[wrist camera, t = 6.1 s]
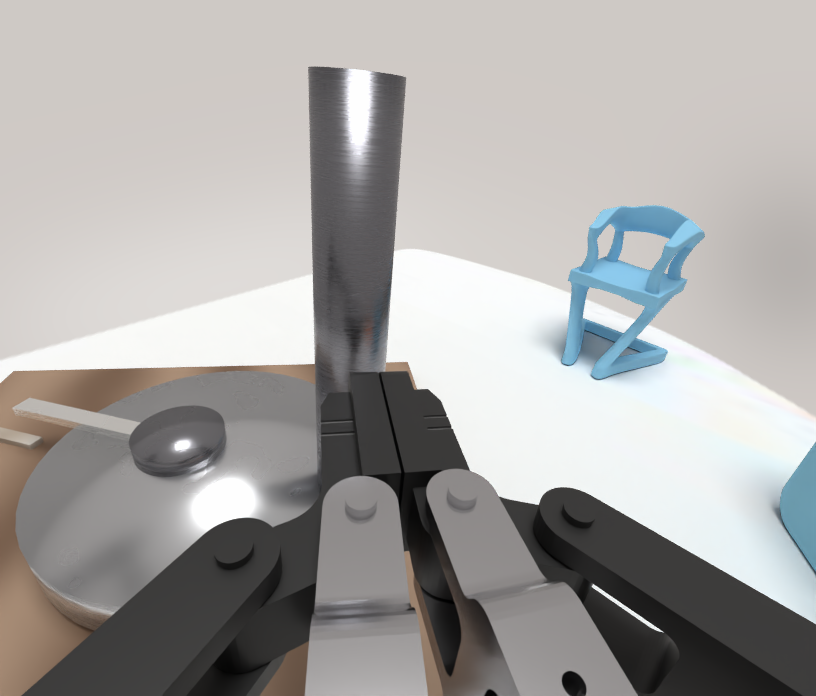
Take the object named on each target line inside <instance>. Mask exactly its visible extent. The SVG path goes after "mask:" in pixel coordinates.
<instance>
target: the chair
mask: <svg viewBox="0 0 816 696" xmlns="http://www.w3.org/2000/svg"><path fill="white" fill-rule="evenodd" d="M609 224H611V225H612V226H613V227H614V228H615V235H614V239H613V244H612V246H611V249H610V252H609V253H608V256H607V257H604V258H601V259H598V244H597V238H598V237H599V235H600V234H601V233H602V231H603V230H604V229H605V228H606V227H607V226H608V225H609ZM624 231H640V232H648V233H653V234H657V235H661V236H664V237H666V238H669V239H670V240H669V241H668V242H667V243H666V244H665V246H664V250H663V253H662V257H661V258H660V259H659V261H658V262H657V263H656V265H655V266H654V268H653V269H652V271H650V270H647V269H643V268H640V267H636V266H634V265H631V264H628V263H625V262H622V261H620V260H618V257H619V255H620V253H621V250H622V244H623V235H624ZM704 237H705V234H704V232H703V231H702V230H701V229H700V228H699V227H698V226H697V225H696V224H695V223H694V222H693V221H692V220H690V219H689V218H687V217H686V216H684V215H682V214H681V213H679V212H677V211H675V210H672V209H671V208H667V207H664V206H656V205H655V206H639V207H627V206H620V207H616V208H611V209H605V210H603V211H602V212H600V214H599V215H598V217H597V218H596V220H595V221H594V223H593V224H592V225H591V226H590V227H589V234H588V253H587V257H586V259H585V261H584V263H583V264H582V266H581V267H577V268H575V269H572V270H571V272H570V275H569V279H568V281H571V284H572V293H571V305H570V314H569V323H568V331H567V339H566V347H565V351H564V354H563V357H562V360H561V362H562V363H563V364H566V365H572V364H573V363H574V362H575V361H576V359H577V357H578V354H579V352H580V349H581V345H582V341H583V336H584V330H586V331H589V332H592V333H594V334H597V335H599V336H602V337H604V338H607V339H609V340H612V341H614V342H615V343H614V344H613V345H612V346H611V347H610V348H609V349H608V350H607V351H606V352H605V353H604V354H603V356H602V357H601V358H600V359H599V360H598V361H597V362H596V363H595V365H594V368H593V370H592V373H591V375H592V377H594V378H596V379H603V378H605V377H608V376H611V375H614V374H617V373H621V372H624V371H628V370H632V369H636V368H641V367H645V366H649V365H653V364H656V363H659V362H662V361H664V359H665V357H666V355H667V352H668V351H667V350H666V349H663V348H661V347H658V346H656V345H653V344H650V343H648V342H645V341H642V340H640V339H637V338H636V337H637V336H638V335H639V334H640V333H641V332H642V330H643V329H644V328H645V327H646V326H647V325H648V324H649V323H650V322H651V320H652V319H653V318H654V317H655V316H656V315H657V313H658V312H659V311H660V310H661V309H662V308H663V307H664V306H665V305H666V303H668V301H669V300H670V299H671V298H672V297H673V296H674V295H676V294H678V293H680V292H681V291H682V290H683V289H684V287H685V284H686V282H687V279H683V278H681V277H680V274H681V268H682V265H683V262H684V261H685V259H686V257H687V256H688V255H689V253H690V252H691V251H692V249H693V248H694V247H695V246H696V245H697V244H698V243H699V242H700V241H701V240H702V239H703V238H704ZM675 255H676V256H675ZM674 256H675V257H674ZM673 257H674V258H673ZM672 258H673V260H672ZM671 260H672V262H671V263H670V261H671ZM669 263H670V266H669V269H668V274H665V273H664V272H665V270H666V268H667V266H668V264H669ZM589 287H592V288H597V289H602V290H604V291H608V292H610V293H614V294H617V295H620V296H622V297H624V298H626V299H628V300H630V301H632V302H634V303H637V304H640V305H643V306H645V309H644V310H643V312H642V314H641V315H640V316H639V317H638V319H637V320H636V321H635V322H634V323H633V324H632V325H631V326H630V327H629V329H628V330H627V331H626V332H625V333H621V332H619V331H616V330H613V329H611V328H608V327H605V326H603V325H600V324H597V323H595V322H592V321H589V320H587V319H583V311H584V304H585V300H586V294H587V291H588V289H589ZM627 347H630V348H632V349H635V350H637V351H640V352H642V353H636V354H631V355H625V356H620V357H618V356H619V355H620V354H621V353H622V352H623V351H624V350H625V349H626V348H627Z"/></svg>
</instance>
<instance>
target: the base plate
mask: <svg viewBox="0 0 816 696" xmlns="http://www.w3.org/2000/svg"><path fill="white" fill-rule="evenodd" d="M227 371H259V372H270V373H276V374H283V375H287V376H291V377H295V378H299V379H302V380H305V381H308V382H310V383H313V384H315V364H306V365H263V366H220V367H176V368H133V369H89V370H46V371H13V372H12V373H11V374H10V375H9V376H8V377H7V378H6V379H5V380H4V381H2V382H1V383H0V696H21V695H23V694H24V693H25V692H26V691H27V690H28V689H29V688H31V687H32V686H33V685H34V684H35V683H36V682H37V681H38V680H40V679H41V678H42V677H43V676H44V675H45V674H46V673H47V672H49V671H50V670H51V669H52V668H53V667H54V666H55V665H57V664H58V663H59V662H60V661H61V660H62V659H63V658H64V657H66V656H67V655H68V654H69V653H70V652H71V651H72V650H73V649H75V648H76V647H77V646H78V645H79V644H80V643H81V642H83V641H84V640H85V639H86V638H87V637H88V636H89V635H90V634H92V633H93V632H94V630H91V629H89V628H86V627H84V626H82V625H79V624H77V623H76V622H74V621H73V620H71V619H70V618H68V617H67V616H65V615H64V614H62V613H61V612H59V610H58V609H57V608H56V607H55V606H54V605H53V604H52V603H51V602H50V601H49V600H48V599H47V598H46V596H45V594H44V592H43V590H42V588H41V587H40V585H39V583H38V581H37V579H36V578H35V576H34V574H33V572H32V570H31V568H30V567H29V565H28V563H27V561H26V559H25V557H24V555H23V554H22V552H21V550H20V548H19V544H18V540H17V535H16V531H15V530H16V511H17V507H18V503H19V499H20V495H21V493H22V491H23V489H24V486H25V484H26V482H27V480H28V478H29V477H30V475H31V474H32V472H33V471H34V469H35V468H36V466H37V464H38V463H39V462H40V461H41V460H42V458H43V457H44V456H45V455H46V454H47V453H48V451H49V450H50V449H51V448H52V447H53V446H54V445H55V444H56V443H57V442H58V441H59V440H61V439H62V438H63V437H64V436H65V435H66V434H67V433H68V432H70V431H71V430H72V429H74V428H70V427H66V426H61V425H57V424H53V423H48V422H44V421H39V420H35V419H31V418H26V417H22V416H18V415H15V413H14V411H13V407H14V406H16V405H18V404H20V403H21V402H23V401H25V400H26V399H28V398H33V399H37V400H42V401H46V402H51V403H55V404H60V405H64V406H69V407H73V408H78V409H82V410H87V411H91V412H96V413H97V412H98V411H100V410H102V409H104V408H106V407H107V406H109V405H111V404H113V403H115V402H117V401H119V400H121V399H123V398H125V397H127V396H130V395H132V394H134V393H137V392H139V391H142V390H145V389H147V388H150V387H153V386H156V385H159V384H162V383H165V382H169V381H173V380H177V379H181V378H185V377H189V376H195V375H200V374H207V373H215V372H227ZM386 371H408V373H409V376H410V379H411V382H412V385H413V387H414V390H417V388H416V385H415V382H414V379H413V376H412V373H411V371H410V368H409V365H408V362H393V363H386V367H385V372H386ZM404 556H405V565H406V574H407V582H408V591H409V599H410V604H411V607H414V608H415V610H416V613H417V617H418V622H419V628H420V636H421V644H422V652H423V659H424V667H425V675H426V683H427V691H428V696H443V692H442V686H441V682H440V678H439V674H438V671H437V667H436V664H435V660H434V657H433V653H432V649H431V646H430V642H429V639H428V635H427V632H426V628H425V625H424V621H423V618H422V614H421V611H420V607H419V603H418V600H417V596H416V593H415V589H414V584H413V578H414V572H413V568H412V563H411V558H410V553H409V551H405V552H404ZM308 649H309V641H308V642H306V643H304V644H302V645H301V646H299V647H297V648H295V649H293V650H291V651H289V652H287V653H286V656H285V658H284V661H283V662H282V664H281V666H280V667H279V669H278V670H277V672H276V673H275V675H274V676H273V677H272V679H271V680H270V682H269V683H268V684H267V686H266V687H265V689H264V690H263V691H262V693H261V694H260V696H305V685H306V673H307V661H308Z"/></svg>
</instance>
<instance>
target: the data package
mask: <svg viewBox="0 0 816 696" xmlns="http://www.w3.org/2000/svg"><path fill="white" fill-rule="evenodd" d="M780 511H781V516H782V520H783V522H784V525H785V527H786V528H787V530H788V532H789V533H790V535H791V536H792V537H793V539H794V540H795V542H796V543H797V545H798V546H799V548H800V549H801V551H802V552H803V554H804V555H805V557H806V558H807V560H808V561H809V563H810V564H811V566H812V567H813V568H814V570H815V571H816V442H815V444H814V445H813V447H812V448H811V449H810V451H809V452H808V454H807V455H806V456H805V458H804V459H803V461H802V462H801V464H800V465H799V466H798V468H797V469H796V471H795V472H794V473H793V475H792V476H791V478H790V479H789V480H788V482H787V483H786V485H785V486H784V488H783V491H782V494H781V498H780Z"/></svg>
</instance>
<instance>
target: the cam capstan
mask: <svg viewBox="0 0 816 696" xmlns="http://www.w3.org/2000/svg"><path fill="white" fill-rule="evenodd" d="M308 73H309V115H310V116H309V119H310V164H311V210H312V253H313V254H312V255H313V300H314V345H315V384H313V383H310V382H308V381H305V380H302V379H299V378H295V377H291V376H287V375H283V374H276V373H270V372H259V371H227V372H215V373H207V374H200V375H195V376H189V377H185V378H181V379H177V380H173V381H169V382H165V383H162V384H159V385H156V386H153V387H150V388H147V389H145V390H142V391H139V392H137V393H134V394H132V395H130V396H127V397H125V398H123V399H121V400H119V401H117V402H115V403H113V404H111V405H109V406H107V407H106V408H104V409H102V410H100V411H98V412H97V413H96V412H91V411H87V410H82V409H78V408H73V407H69V406H64V405H60V404H55V403H51V402H46V401H42V400H37V399H33V398H28V399H26V400H25V401H23V402H21V403H20V404H18V405H16V406H14V407H13V411H14V413H15V415H18V416H22V417H26V418H31V419H35V420H39V421H44V422H48V423H53V424H57V425H61V426H66V427H70V428H74V429H72V430H71V431H70V432H68V433H67V434H66V435H65V436H64V437H63V438H62V439H61V440H59V441H58V442H57V443H56V444H55V445H54V446H53V447H52V448H51V449H50V450H49V451H48V453H47V454H46V455H45V456H44V457H43V458H42V460H41V461H40V462H39V463H38V464H37V466H36V468H35V469H34V471H33V472H32V474H31V475H30V477H29V478H28V480H27V482H26V484H25V486H24V489H23V491H22V493H21V495H20V499H19V503H18V507H17V511H16V530H15V531H16V535H17V540H18V544H19V548H20V550H21V552H22V554H23V555H24V557H25V559H26V561H27V563H28V565H29V567H30V568H31V570H32V572H33V574H34V576H35V578H36V579H37V581H38V583H39V585H40V587H41V588H42V590H43V592H44V594H45V596H46V598H47V599H48V600H49V601H50V602H51V603H52V604H53V605H54V606H55V607H56V608H57V609H58V610H59V612H61V613H62V614H64V615H65V616H67V617H68V618H70V619H71V620H73V621H74V622H76V623H77V624H79V625H82V626H84V627H86V628H89V629H91V630H94V631H95V630H96V629H97V628H98V627H99V626H101V625H102V624H103V623H104V622H105V621H106V620H107V619H109V618H110V617H111V616H112V615H113V614H114V613H115V612H116V611H118V610H119V609H120V608H121V607H122V606H123V605H124V604H125V603H127V602H128V601H129V600H130V599H131V598H132V597H133V596H135V595H136V594H137V593H138V592H139V591H140V590H141V589H142V588H144V587H145V586H146V585H147V584H148V583H149V582H150V581H151V580H153V579H154V578H155V577H156V576H157V575H158V574H159V573H161V572H162V571H163V570H164V569H165V568H166V567H167V566H168V565H170V564H171V563H172V562H173V561H174V560H175V559H176V558H177V557H179V556H180V555H181V554H182V553H183V552H184V551H185V550H187V549H188V548H189V547H190V546H191V545H192V544H193V543H194V542H196V541H197V540H198V539H199V538H200V537H201V536H202V535H203V534H205V533H206V532H207V531H209V530H210V529H211V528H213V527H215V526H216V525H218V524H220V523H223V522H225V521H228V520H231V519H236V518H245V517H248V518H256V519H260V520H262V521H265V522H267V523H268V524H269V525H271V526H272V527H274V526H277V525H279V524H282V523H285V522H287V521H290V520H292V519H294V518H297V517H298V516H300V515H302V514H303V513H305V512H306V511H307V510H308V509H309V508H310V507H311V506H312V505H313V504H314V503H315V502H316V500H317V499H318V497H319V495H320V492H321V488H322V465H321V407H320V406H321V404H322V403H323V401H324V400H325V398H326V396H327V395H328V393H337V392H348V377H349V372H378V374H379V372H385V367H386V353H387V339H388V325H389V311H390V297H391V283H392V269H393V255H394V241H395V226H396V212H397V197H398V184H399V170H400V155H401V142H402V128H403V113H404V100H405V85H406V77H403V76H398V75H393V74H386V73H379V72H371V71H363V70H354V69H343V68H331V67H308Z"/></svg>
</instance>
